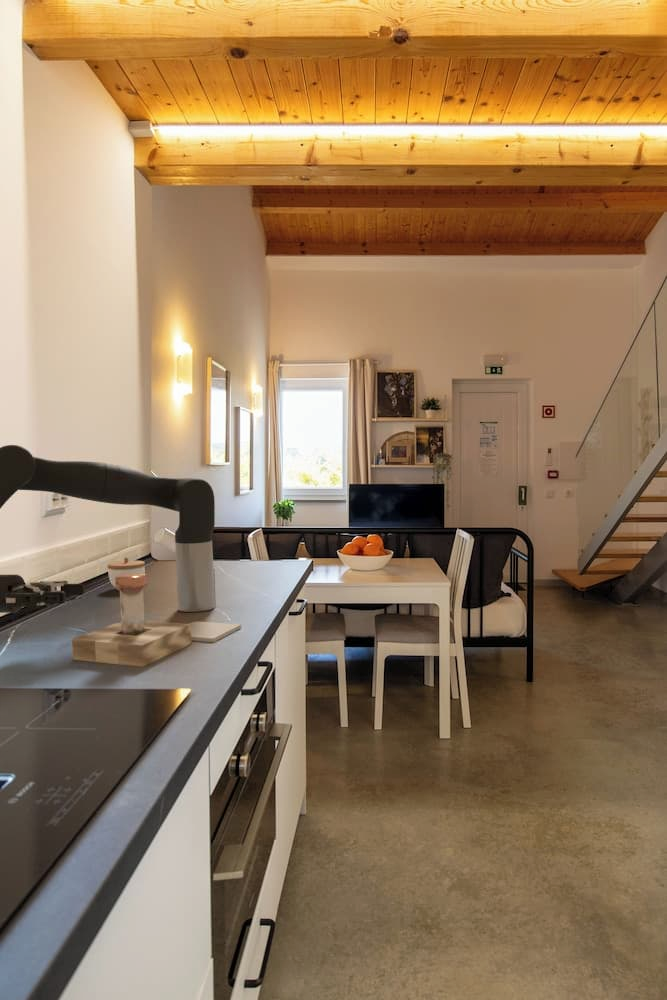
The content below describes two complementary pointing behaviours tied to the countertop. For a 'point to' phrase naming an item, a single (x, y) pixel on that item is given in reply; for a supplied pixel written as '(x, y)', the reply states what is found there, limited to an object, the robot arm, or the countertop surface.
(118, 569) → the lidded jar
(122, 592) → the copper-capped metal cylinder
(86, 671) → the countertop surface
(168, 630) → the bore block
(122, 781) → the countertop surface
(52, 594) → the robot arm
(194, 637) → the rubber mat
